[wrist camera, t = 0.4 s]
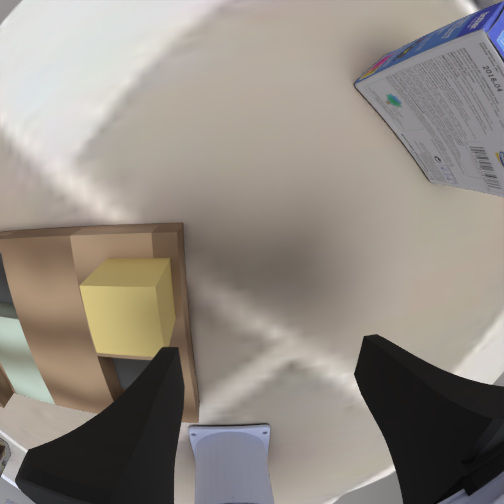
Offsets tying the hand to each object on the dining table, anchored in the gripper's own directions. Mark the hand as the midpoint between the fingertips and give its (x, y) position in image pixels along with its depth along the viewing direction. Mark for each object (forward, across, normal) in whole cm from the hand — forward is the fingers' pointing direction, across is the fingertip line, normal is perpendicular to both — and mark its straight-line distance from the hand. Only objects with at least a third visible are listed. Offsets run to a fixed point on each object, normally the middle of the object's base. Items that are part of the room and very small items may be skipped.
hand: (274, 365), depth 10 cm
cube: (+7, +7, 0) cm, 10 cm away
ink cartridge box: (+10, -12, -12) cm, 20 cm away
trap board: (+10, +15, +5) cm, 18 cm away
